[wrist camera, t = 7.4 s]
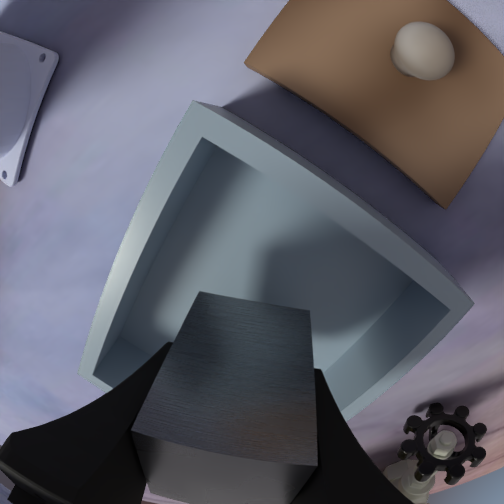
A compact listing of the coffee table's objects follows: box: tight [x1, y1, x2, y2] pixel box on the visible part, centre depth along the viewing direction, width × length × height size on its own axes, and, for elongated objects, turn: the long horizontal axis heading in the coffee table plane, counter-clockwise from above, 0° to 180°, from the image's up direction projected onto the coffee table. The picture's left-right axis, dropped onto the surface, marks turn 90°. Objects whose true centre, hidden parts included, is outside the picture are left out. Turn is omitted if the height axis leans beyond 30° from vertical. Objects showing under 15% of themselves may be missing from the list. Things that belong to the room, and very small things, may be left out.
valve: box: [383, 403, 487, 504], centre depth 16 cm, size 7×7×12 cm
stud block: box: [244, 0, 504, 210], centre depth 8 cm, size 10×8×4 cm
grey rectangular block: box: [131, 291, 318, 504], centre depth 10 cm, size 4×4×6 cm
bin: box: [77, 101, 475, 422], centre depth 13 cm, size 12×14×4 cm
